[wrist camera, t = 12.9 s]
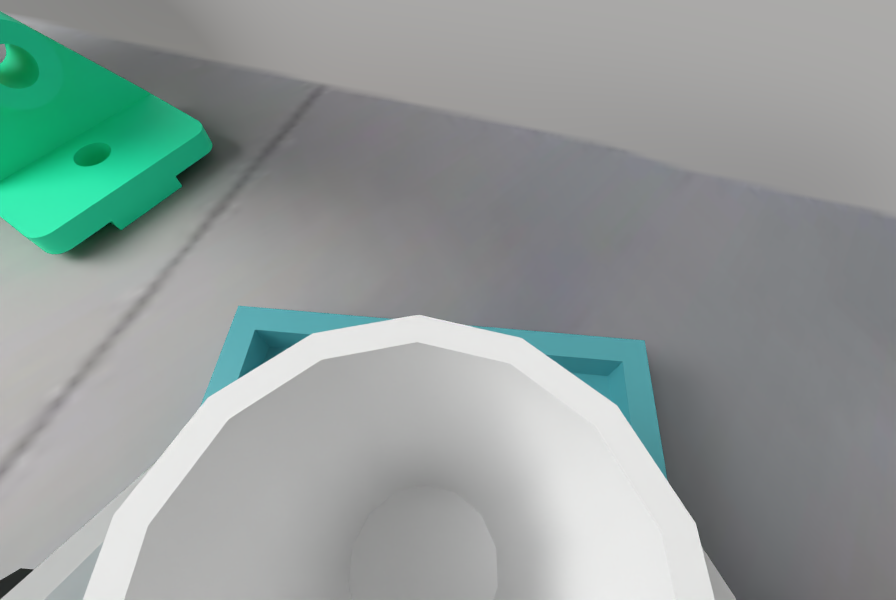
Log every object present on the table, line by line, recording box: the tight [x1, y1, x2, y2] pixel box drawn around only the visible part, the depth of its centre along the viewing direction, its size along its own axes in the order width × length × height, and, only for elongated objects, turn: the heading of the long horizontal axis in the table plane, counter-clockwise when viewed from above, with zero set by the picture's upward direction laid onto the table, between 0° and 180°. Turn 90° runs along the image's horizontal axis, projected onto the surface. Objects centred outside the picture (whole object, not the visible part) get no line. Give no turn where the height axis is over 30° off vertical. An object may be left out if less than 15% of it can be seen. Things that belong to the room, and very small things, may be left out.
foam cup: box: [83, 315, 715, 600], centre depth 12 cm, size 10×9×13 cm
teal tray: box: [200, 306, 668, 481], centre depth 17 cm, size 20×20×3 cm
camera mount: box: [0, 11, 213, 254], centre depth 25 cm, size 12×8×10 cm, turn 146°
